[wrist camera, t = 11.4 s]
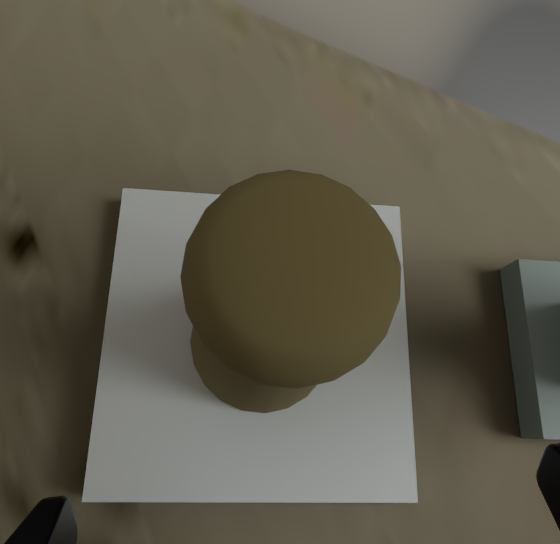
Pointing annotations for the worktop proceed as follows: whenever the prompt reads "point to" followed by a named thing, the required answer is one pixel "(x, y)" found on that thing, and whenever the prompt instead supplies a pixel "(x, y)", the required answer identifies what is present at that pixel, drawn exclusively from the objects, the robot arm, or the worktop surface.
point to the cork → (286, 288)
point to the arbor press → (283, 423)
